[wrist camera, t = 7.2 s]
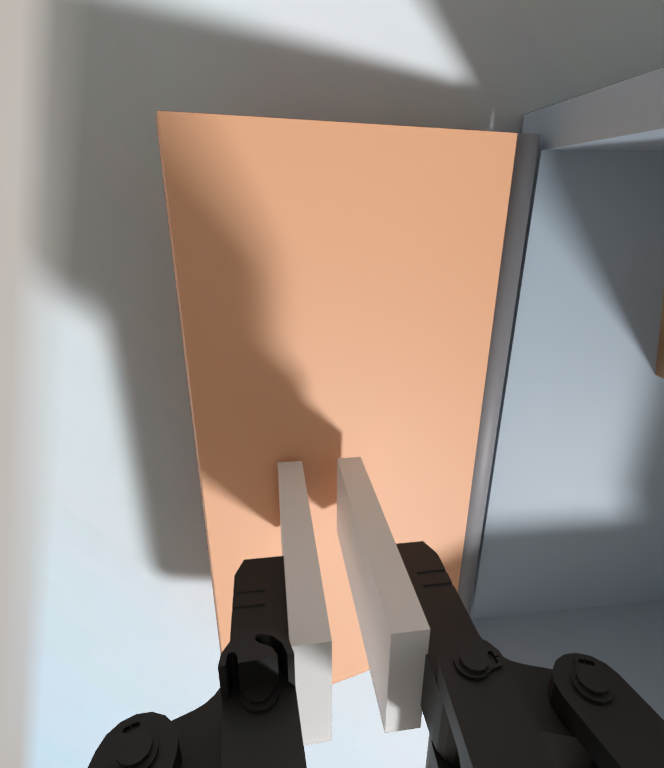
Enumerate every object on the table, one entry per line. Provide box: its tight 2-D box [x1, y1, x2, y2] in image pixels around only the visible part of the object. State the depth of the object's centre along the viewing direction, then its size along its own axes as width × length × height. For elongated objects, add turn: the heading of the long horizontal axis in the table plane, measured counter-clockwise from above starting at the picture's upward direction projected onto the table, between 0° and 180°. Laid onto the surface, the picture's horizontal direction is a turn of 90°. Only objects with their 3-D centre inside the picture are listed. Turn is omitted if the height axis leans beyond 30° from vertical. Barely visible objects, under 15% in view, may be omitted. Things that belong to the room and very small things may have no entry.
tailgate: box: [156, 111, 540, 684], centre depth 16 cm, size 20×1×11 cm
